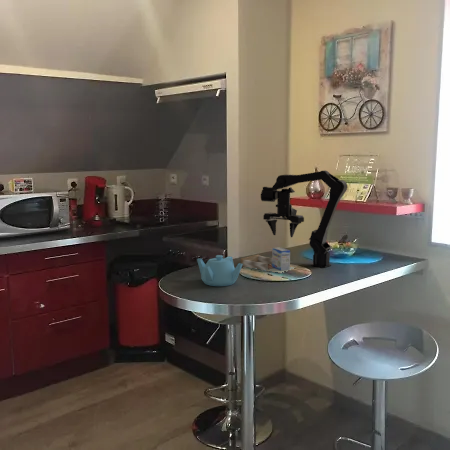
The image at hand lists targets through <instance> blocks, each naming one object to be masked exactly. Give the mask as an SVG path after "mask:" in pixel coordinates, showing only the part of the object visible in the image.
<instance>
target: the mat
mask: <svg viewBox="0 0 450 450" xmlns="http://www.w3.org/2000/svg"><path fill="white" fill-rule="evenodd" d="M294 268H296V267H293V266H290V271H292V270H291V269H293V270H295V269H294ZM269 271H272V272H271V273H275V272H278V273H277V274H282V272H283V273H285V272H284V271H281V270H278V269H275V268H273V267H272V268H268V270H267V271H266V272H269ZM285 271H286V272H289V271H288V270H285Z"/></svg>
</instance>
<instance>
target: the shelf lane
mask: <svg viewBox="0 0 450 450" xmlns="http://www.w3.org/2000/svg"><path fill="white" fill-rule="evenodd" d="M240 263H241V264H243V265H242V268H246V267H250V268H249V269H252V268H257V269H256V270H258V269H261V270H260V271H263V270H266V271H265V272H268V271H267V270H269V265H268V264H271V265H270V266H272V257H268V256H262V255H260V254H254V255H250V256H245V257H242V258H240Z"/></svg>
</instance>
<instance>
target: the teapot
mask: <svg viewBox="0 0 450 450" xmlns="http://www.w3.org/2000/svg"><path fill="white" fill-rule="evenodd" d="M233 259H234V258H233V256H227V257H225V258H224V255H222V254H217V255H215V257H213V258H210V259H208V260H207V262H206V263H205V262H204V260H203V258H196V262H197V264H198V269H199V273H200V278H201V280H202V282H203V283H204V284H205V285H206V286H210V287H228V286H232V285H234V283H235V282H237V280H238V277H239V275H240V272H241V270H242V268H243V267H242V265H243V264H241V262H239V263H237V265H236V267H235V264H234V263H235V262H234V260H233Z"/></svg>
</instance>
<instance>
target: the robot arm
mask: <svg viewBox="0 0 450 450" xmlns="http://www.w3.org/2000/svg"><path fill="white" fill-rule="evenodd" d="M319 180H320V181H322V182H323V183H324V184H325V185H326V186H327V187H329V188H330V189H329V194H328V195H329V196H328V197H329V199H328V202H327V203H326V207H325V208H324V209H325V210H324V212H323V214H322V217H321V219H320V222H319V225H318V228H317V229H315V230H312V231H311V233H310V237H309V239H308V240H309V242H308V243H309V246H310V247H311V249H312V251H313V254H312V264H311V266H312V267H318V268H325V269H326V268H328V267H330V266H332V264H331V263H330V262H331V261H330V259H331V253H330V250H331V248H332V246H331V245H330V244H329V243H328V241H327V240H328V230H329V228H330V225H331V222H332V219H333V217H334V216H335V215H334V214H335V211H336V209H337V207H338V204H339V202H340V201H341V199H342V198H343V196H344V195H345V193H346V192H347V190H348V184H347V182H346V181H345V180H343V179H340V178H338V177H337V176H335V175H333V174H331V173H330V172H329V171H328V170H325V169H324V170H320V171H316V172H310V173H309V172H308V173H303V174H281V175H278V176H277V177H276V181H275V183H274V184H273V185H272V187H271V186H270V187H269V186H262V190H261V193H260V200H261V202H269V203H271V202H272V203H273V202H274V203H275V202H276V201H277V203H276V204H275V208H276V212H266V213H264V214H263V216H262V217H263V220H265V222H266V223H267V224H268V226H269V227H270V230H271V232H272V235H273V236H276V235H277V222H278V220H284V221H290V222H289V236H290V238H293V237H294V234H295V232H296V229H297V227H298V226H299V225H300V224H302V223H304V222H305V217H304V216H303V215H302V214H300V215H299V214H297V211H298V210H297V209H295V208H293V207H292V206H293V205H292V204H291V194H293V193H296V192H295V191H296V190H294V189H293V188H292V187H291V186H294V185H296V184H301V183H306V182H308V183H309V182H313V181H319ZM288 187H289V188H288Z"/></svg>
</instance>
